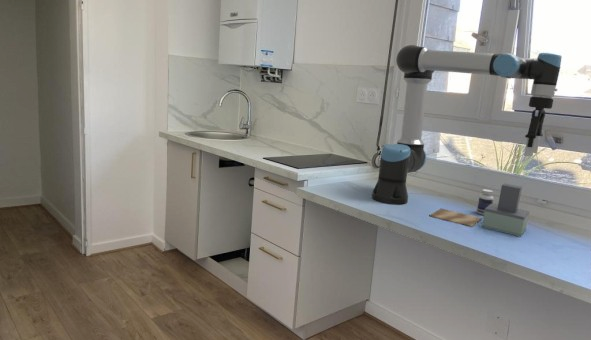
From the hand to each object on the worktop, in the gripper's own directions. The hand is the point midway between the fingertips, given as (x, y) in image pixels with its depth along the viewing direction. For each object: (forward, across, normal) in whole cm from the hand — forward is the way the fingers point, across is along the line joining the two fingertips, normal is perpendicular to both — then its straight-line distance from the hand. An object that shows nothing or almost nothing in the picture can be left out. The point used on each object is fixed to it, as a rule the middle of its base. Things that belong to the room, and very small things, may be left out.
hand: (530, 154), depth 163 cm
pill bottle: (+27, +3, +13) cm, 30 cm away
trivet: (+27, -13, +20) cm, 36 cm away
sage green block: (+27, -12, +3) cm, 29 cm away
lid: (+21, -12, +3) cm, 24 cm away
